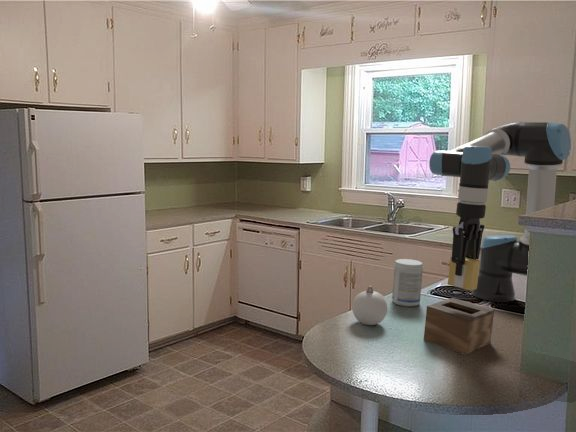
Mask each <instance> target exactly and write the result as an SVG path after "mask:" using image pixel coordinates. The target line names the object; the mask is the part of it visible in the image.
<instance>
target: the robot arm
mask: <svg viewBox="0 0 576 432" xmlns="http://www.w3.org/2000/svg"><path fill="white" fill-rule="evenodd" d="M571 148H572V140H571V133H570V130H569V129H568V127H567V126H566V125H565V124H564V123H559V122H552V121H551V122H548V121H546V122H545V121H543V122H541V121H540V122H536V121H535V122H534V121H533V122H532V121H531V122H530V121H528V122H527V121H517V122H511V123H507V124H504V125H499V126H497V127H494V128H492V129H489V130H488V131H487V132H486V133H484V135H483V136H481V137H479V138H476V139H474V140H472V141H470V142H467V143H464V144H462V145H460V146H457V147H455V148H453V149H450V150H443V149H442V150H435V151H433V152H432V154H431V155H430V158H429V162H428V163H429V165H428V166H429V170H430V172H431V173H432V174H433V175H436V176H441V177H452V178H453V177H454V178H459V187H458V190H457V191H458V195H457V200H458V203H457V204H456V210H455V211H456V212H455V214H456V216H457V217H459V223H458V226H453V227H452V234H453V235H452V247H451V248H452V249H451V257H452V262H453V263H456V268H455V277H454V286H453V287H455V286H457V287H456V288H459V287H460V288H459V289H462V288H464V281H465V272H466V265H465V259H466V258H470V259H475V260H479V261H480V266H479V275H478V283H477V289H474V290H471V295H472V296H474V297H475V298H478V299H481V300H484V301H489V302H493V303H494V302H495V303H496V302H497V303H510V302H509V301H511V302H514V301H515V298H516V292H515V288H514V287H515V286H514V283H513V274H516V275H520V276H524V277H525V276H526V277H528V276H527V265H528V251H529V232H528V231H527V230H526V229H525V228H524V235H522V236H521V237H520V238H519V241H518V238H517V236H515V235H507V234H506V235H505V234H496V235H495V234H494V235H493V234H492V235H486V236H484V237H483V234H484V233H483V232H484V230H485V224H481V222H480V220H481V219H484V218H485V217H486V210H487V205H486V204H485V203H487V201H488V194H489V193H488V192H489V183H490V181H493V182H496V181H499V180H503V179H504V178H506V177H507V176H508V174H509V173H510V171H511V170H510V169H511V163H510V161H509V159H508V158H507V157H506V156H512V157H514V156H515V157H523V158H524V165H525V166H527V168H528V178H527V192H526V209H525V215H526V214H528V213H532V212H535V211H539V210H542V209H546V208H549V207H553V206H554V207H555V198H556V185H557V176H558V174H557V173H558V169H559V168H560V167H561V166H562V165H563V163H564V160H566V159H568V158H569V156H570V154H571V152H570V151H571V150H572V149H571Z"/></svg>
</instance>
